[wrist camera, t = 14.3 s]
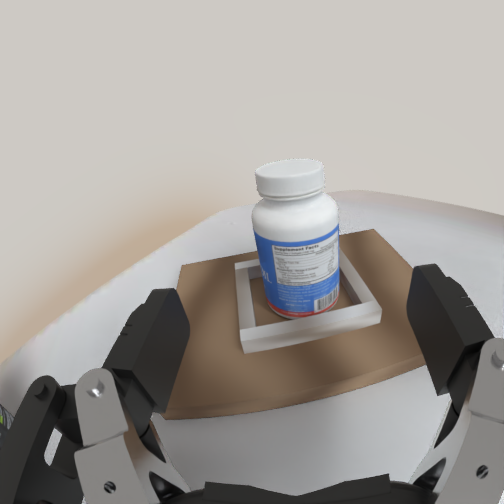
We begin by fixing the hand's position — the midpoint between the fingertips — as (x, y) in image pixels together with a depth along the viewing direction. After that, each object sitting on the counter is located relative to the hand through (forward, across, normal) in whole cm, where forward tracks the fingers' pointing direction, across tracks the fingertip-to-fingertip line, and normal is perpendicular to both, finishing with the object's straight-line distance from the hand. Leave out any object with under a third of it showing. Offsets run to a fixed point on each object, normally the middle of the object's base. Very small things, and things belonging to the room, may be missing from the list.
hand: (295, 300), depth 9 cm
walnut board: (+9, 0, +9) cm, 13 cm away
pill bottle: (+9, 0, +8) cm, 12 cm away
